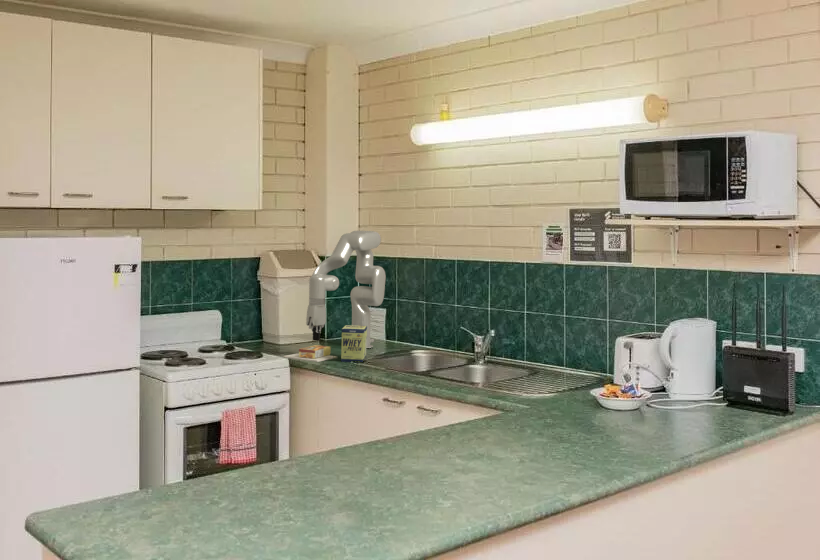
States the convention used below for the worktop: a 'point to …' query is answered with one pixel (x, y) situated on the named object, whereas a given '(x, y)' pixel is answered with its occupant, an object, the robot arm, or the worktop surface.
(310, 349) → the candy box
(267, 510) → the worktop surface
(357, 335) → the protein box
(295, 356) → the mat
